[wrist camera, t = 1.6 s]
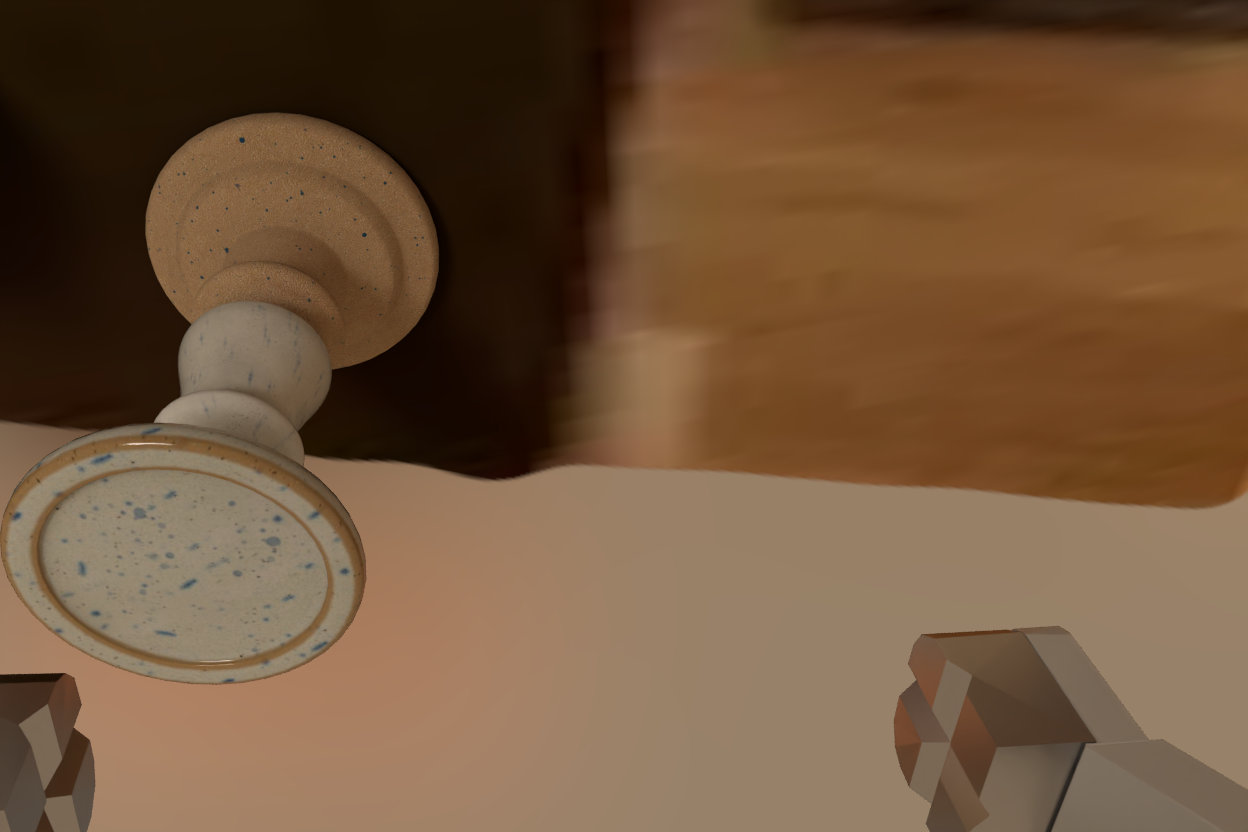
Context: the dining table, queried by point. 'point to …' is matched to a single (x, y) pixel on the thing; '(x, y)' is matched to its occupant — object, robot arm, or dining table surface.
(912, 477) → the dining table surface
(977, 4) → the dining table surface
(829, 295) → the dining table surface
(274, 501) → the candle holder
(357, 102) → the dining table surface
